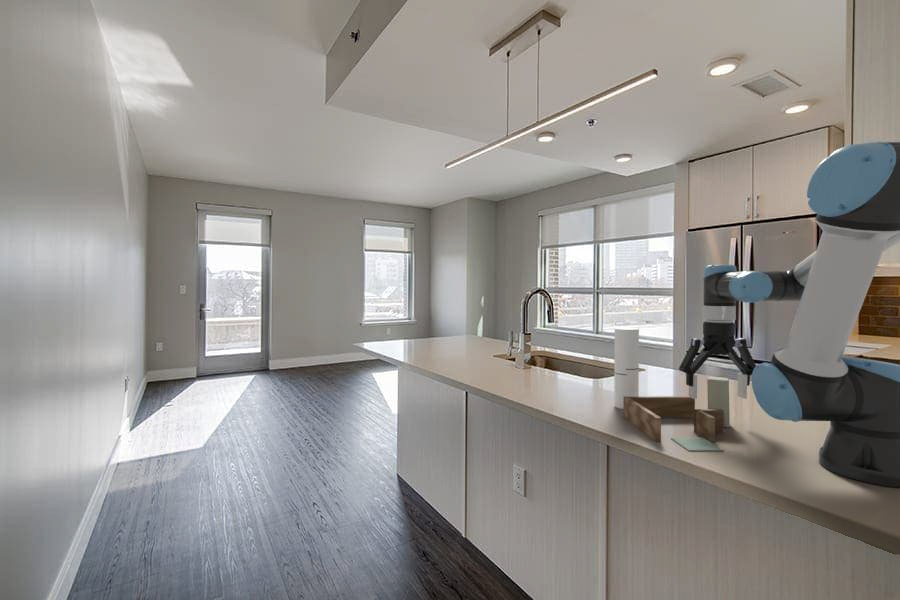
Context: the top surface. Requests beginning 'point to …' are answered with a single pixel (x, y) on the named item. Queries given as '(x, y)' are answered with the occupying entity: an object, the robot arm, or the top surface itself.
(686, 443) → the pad
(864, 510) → the top surface
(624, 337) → the cylindrical container
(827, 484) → the top surface
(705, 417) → the wooden u-shaped enclosure
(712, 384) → the box
